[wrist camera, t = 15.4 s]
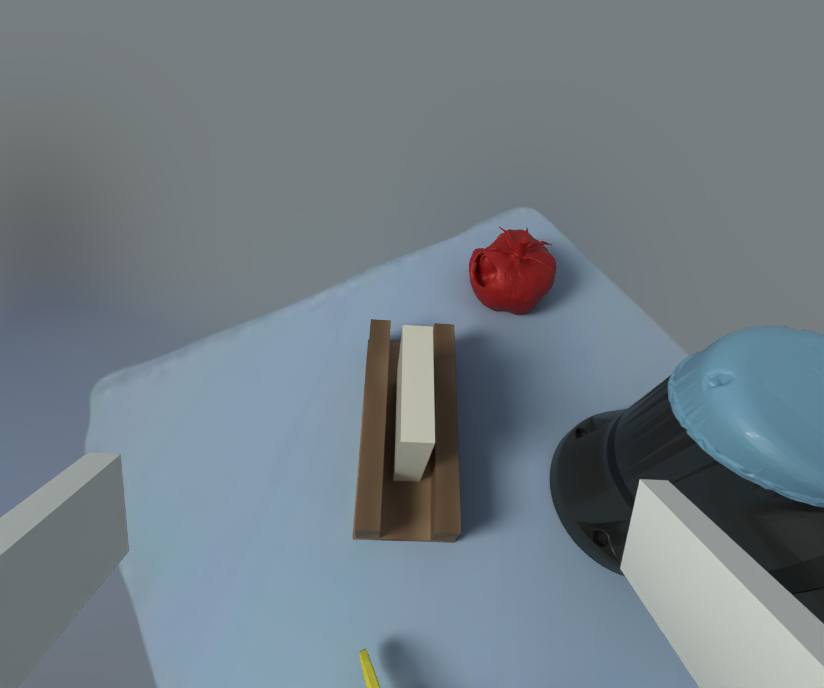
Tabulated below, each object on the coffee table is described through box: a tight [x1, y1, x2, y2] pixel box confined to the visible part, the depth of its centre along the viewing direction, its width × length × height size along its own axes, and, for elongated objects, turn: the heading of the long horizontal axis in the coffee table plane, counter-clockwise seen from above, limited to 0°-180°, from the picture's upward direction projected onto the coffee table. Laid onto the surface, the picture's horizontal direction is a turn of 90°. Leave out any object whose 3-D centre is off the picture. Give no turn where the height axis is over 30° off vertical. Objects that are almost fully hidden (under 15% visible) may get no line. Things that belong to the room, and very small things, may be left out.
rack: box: [353, 319, 461, 542], centre depth 44 cm, size 9×20×5 cm, turn 179°
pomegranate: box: [469, 227, 556, 314], centre depth 53 cm, size 10×10×9 cm
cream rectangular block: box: [393, 325, 435, 482], centre depth 40 cm, size 2×10×11 cm, turn 0°
